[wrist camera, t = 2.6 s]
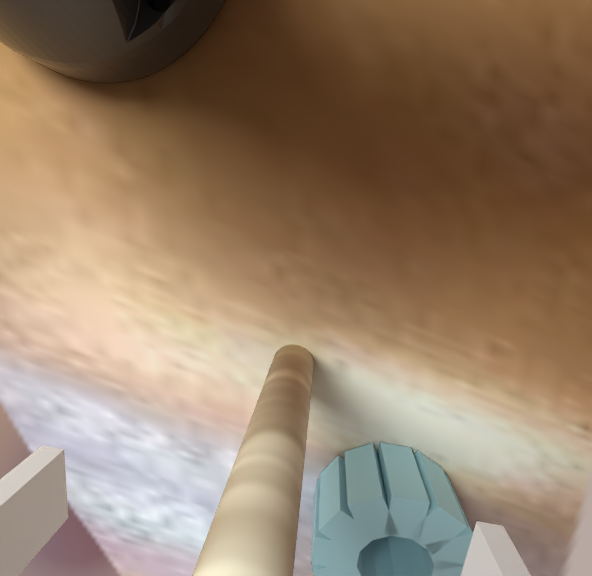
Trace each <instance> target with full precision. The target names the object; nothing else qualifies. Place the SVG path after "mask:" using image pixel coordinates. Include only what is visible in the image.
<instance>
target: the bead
mask: <svg viewBox="0 0 592 576" xmlns="http://www.w3.org/2000/svg"><path fill="white" fill-rule="evenodd" d="M344 453H345V460H344V459H343V458H342V457H340V456H339V455H338V456H337V457H336V458H335V459H334V460H333V461H332V462H331V463H330V464H329V465H328V466H327V467H326V468H325V469H324V470H323V471H322V472H321V474H320V480H319V479H318V480H317V486H316V493H315V500H314V514H313V533H312V552H311V564H312V571H313V573H314V575H315V576H461V573H462V569H463V566H464V563H465V559H466V556H467V552H468V549H469V546H470V542H471V539H472V535H473V532H472V530H471V528H470V526H469V523H468V521H467V519H466V517H465V514H464V512H463V510H462V507H461V505H460V503H459V501H458V498H457V496H456V494H455V492H454V489H453V487H452V485H451V483H450V480H449V478H448V476H447V474H446V473H444V471H443V469H442V467H441V466H439V465H438V464H436V463H435V462H434V461H432V460H431V459H429V458H428V457H427V456H425V455H424V454H423V453H421V452H420V451H417V452H416V453H415V454H414V455H413V452H412V449H411V447H405V446H399V445H393V444H387V443H380V447H379V452H378V454H377V452H376V450H375V448H374V445H373V443H371V444H367V445H364V446H361V447H357V448H354V449H351V450H347V451H344Z"/></svg>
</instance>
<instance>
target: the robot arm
mask: <svg viewBox="0 0 592 576" xmlns="http://www.w3.org/2000/svg"><path fill="white" fill-rule="evenodd" d="M224 1H225V0H0V42H1V43H3V44H4V45H6V46H8V47H9V48H11V49H13V50H14V51H16V52H18V53H20V54H22V55H24V56H26V57H28V58H30V59H32V60H34V61H36V62H38V63H40V64H42V65H44V66H46V67H48V68H50V69H52V70H54V71H56V72H58V73H61V74H63V75H66V76H69V77H72V78H75V79H79V80H84V81H90V82H99V83H115V82H124V81H129V80H134V79H138V78H141V77H144V76H147V75H149V74H152V73H154V72H156V71H158V70H160V69H162V68H164V67H166V66H167V65H169V64H170V63H172V62H174V61H175V60H176V59H178V58H179V57H180V56H182V55H183V54H184V53H185V52H186V51H187V50H188V49H190V48H191V47H192V46H193V45H194V44H195V43H196V42H197V40H198V39H199V38H200V37H201V36H202V35H203V33H204V32H205V31H206V30H207V29H208V27H209V26H210V24H211V23H212V21H213V20H214V18H215V17H216V15H217V13H218V12H219V10H220V8H221V7H222V5H223V3H224ZM67 518H68V507H67V491H66V474H65V458H64V449H58V448H52V447H46V446H41V447H40V448H39V449H37V450H36V451H35V452H34V453H32V454H31V455H30V456H29V457H28V458H26V459H25V460H24V461H23V462H21V463H20V464H19V465H18V466H17V467H15V468H14V469H13V470H12V471H10V472H9V473H8V474H7V475H5V476H4V477H3V478H2V479H1V480H0V576H18V575H19V574H20V573H21V572H22V571H23V570H24V568H25V567H26V566H27V565H28V564H29V562H30V561H31V560H32V559H33V558H34V557H35V556H36V554H37V553H38V552H39V551H40V550H41V549H42V547H43V546H44V545H45V544H46V543H47V541H48V540H49V539H50V538H51V537H52V536H53V535H54V534H55V532H56V531H57V530H58V529H59V527H60V526H61V525H62V524H63V523H64V522H65V521H66V519H67ZM461 576H531V575H530V573H529V571H528V569H527V568H526V566H525V564H524V562H523V560H522V559H521V557H520V555H519V553H518V551H517V550H516V548H515V546H514V544H513V543H512V541H511V539H510V537H509V535H508V534H507V532H506V530H505V528H504V527H503V526H501V525H496V524H490V523H484V522H478V521H477V522H476V525H475V529H474V532H473V535H472V539H471V542H470V546H469V549H468V552H467V556H466V559H465V563H464V566H463V569H462V573H461Z"/></svg>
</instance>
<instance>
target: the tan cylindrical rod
mask: <svg viewBox="0 0 592 576" xmlns="http://www.w3.org/2000/svg"><path fill="white" fill-rule="evenodd" d="M313 369H314V361H313V358H312V356H311V354H310V353H309V352H308V351H307V350H306V349H305V348H303V347H301V346H298V345H287V346H284V347H282V348H281V349H279V350H278V351H277V353H276V354H275V356H274V359H273V361H272V364H271V367H270V369H269V372H268V375H267V377H266V380H265V383H264V385H263V388H262V391H261V393H260V396H259V399H258V401H257V404H256V407H255V409H254V412H253V415H252V417H251V420H250V423H249V425H248V428H247V431H246V433H245V436H244V439H243V441H242V444H241V447H240V449H239V452H238V455H237V457H236V460H235V463H234V465H233V468H232V471H231V473H230V476H229V479H228V481H227V484H226V487H225V489H224V492H223V495H222V497H221V500H220V503H219V505H218V508H217V511H216V513H215V516H214V519H213V521H212V524H211V527H210V529H209V532H208V535H207V537H206V540H205V543H204V545H203V548H202V551H201V553H200V556H199V559H198V561H197V564H196V567H195V569H194V572H193V575H192V576H293V569H294V559H295V549H296V539H297V529H298V519H299V509H300V499H301V489H302V479H303V469H304V459H305V449H306V439H307V429H308V419H309V409H310V399H311V389H312V379H313Z"/></svg>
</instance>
